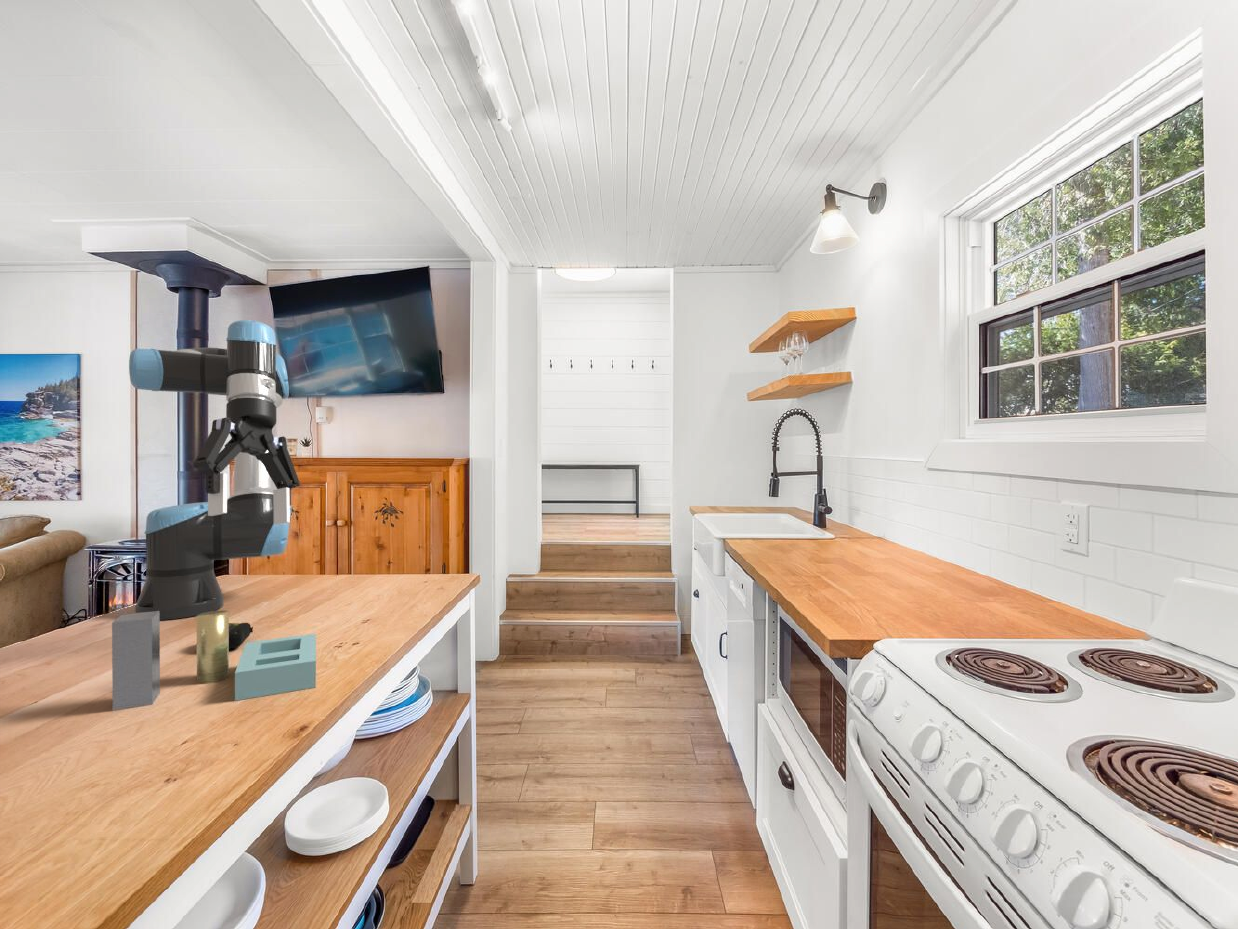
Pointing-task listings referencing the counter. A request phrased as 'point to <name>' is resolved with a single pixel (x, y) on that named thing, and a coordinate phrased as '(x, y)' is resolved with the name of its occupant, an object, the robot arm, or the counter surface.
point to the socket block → (276, 666)
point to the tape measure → (238, 633)
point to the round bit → (212, 646)
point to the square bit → (135, 659)
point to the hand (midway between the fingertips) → (251, 519)
